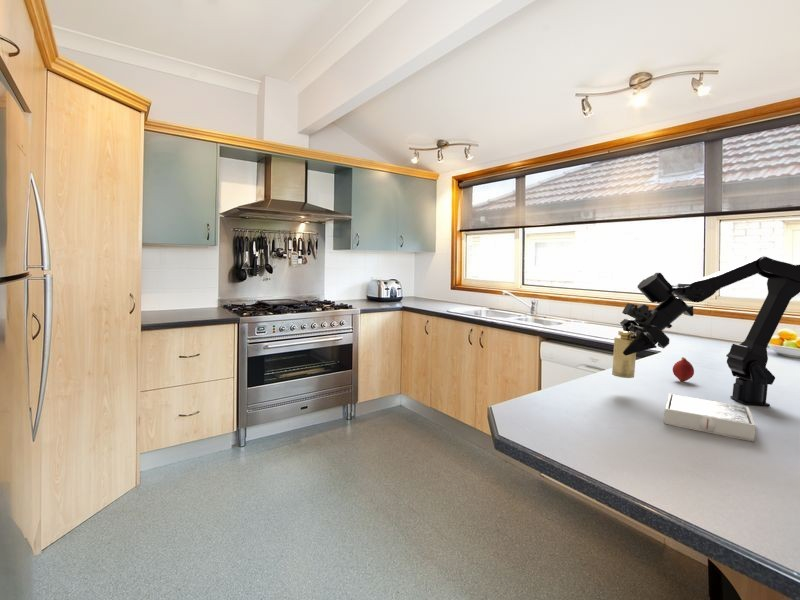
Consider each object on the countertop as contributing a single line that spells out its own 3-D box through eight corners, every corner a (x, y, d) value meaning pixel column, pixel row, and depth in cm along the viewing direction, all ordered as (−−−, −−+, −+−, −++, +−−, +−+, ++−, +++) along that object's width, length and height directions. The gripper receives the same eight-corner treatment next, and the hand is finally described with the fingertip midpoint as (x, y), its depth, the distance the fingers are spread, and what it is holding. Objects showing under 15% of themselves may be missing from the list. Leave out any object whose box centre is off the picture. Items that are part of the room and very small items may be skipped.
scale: (668, 406, 111) (669, 393, 111) (746, 421, 102) (748, 406, 102) (663, 424, 98) (665, 409, 98) (754, 442, 89) (755, 426, 89)
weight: (629, 373, 124) (632, 330, 123) (637, 378, 118) (640, 333, 117) (609, 372, 125) (612, 329, 124) (615, 377, 119) (618, 332, 118)
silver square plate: (672, 398, 110) (673, 394, 110) (743, 410, 102) (743, 406, 102) (669, 411, 98) (670, 408, 98) (749, 426, 90) (749, 423, 90)
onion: (686, 380, 142) (688, 356, 142) (697, 384, 136) (699, 359, 136) (668, 378, 143) (670, 355, 142) (677, 383, 137) (679, 358, 136)
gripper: (629, 292, 129) (588, 327, 131) (660, 295, 110) (612, 336, 112) (654, 319, 128) (614, 353, 130) (690, 327, 110) (642, 367, 112)
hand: (619, 352), depth 121 cm, fingers closed on weight, 6 cm apart
